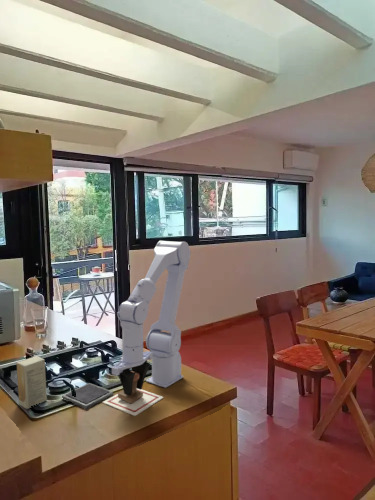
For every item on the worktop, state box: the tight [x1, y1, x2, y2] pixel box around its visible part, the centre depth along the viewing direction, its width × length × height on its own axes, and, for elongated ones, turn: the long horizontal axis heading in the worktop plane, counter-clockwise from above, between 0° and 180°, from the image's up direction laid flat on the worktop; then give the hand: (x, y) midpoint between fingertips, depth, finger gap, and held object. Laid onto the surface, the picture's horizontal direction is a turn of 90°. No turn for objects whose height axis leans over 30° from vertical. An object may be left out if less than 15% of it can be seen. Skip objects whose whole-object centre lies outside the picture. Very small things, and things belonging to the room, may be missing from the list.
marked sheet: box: [102, 388, 164, 417], centre depth 110 cm, size 12×12×1 cm
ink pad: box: [61, 382, 114, 410], centre depth 111 cm, size 10×10×1 cm
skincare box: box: [16, 355, 48, 410], centre depth 107 cm, size 6×4×12 cm
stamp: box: [117, 370, 143, 404], centre depth 110 cm, size 5×5×7 cm
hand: (133, 391), depth 109 cm, fingers closed on stamp, 4 cm apart
